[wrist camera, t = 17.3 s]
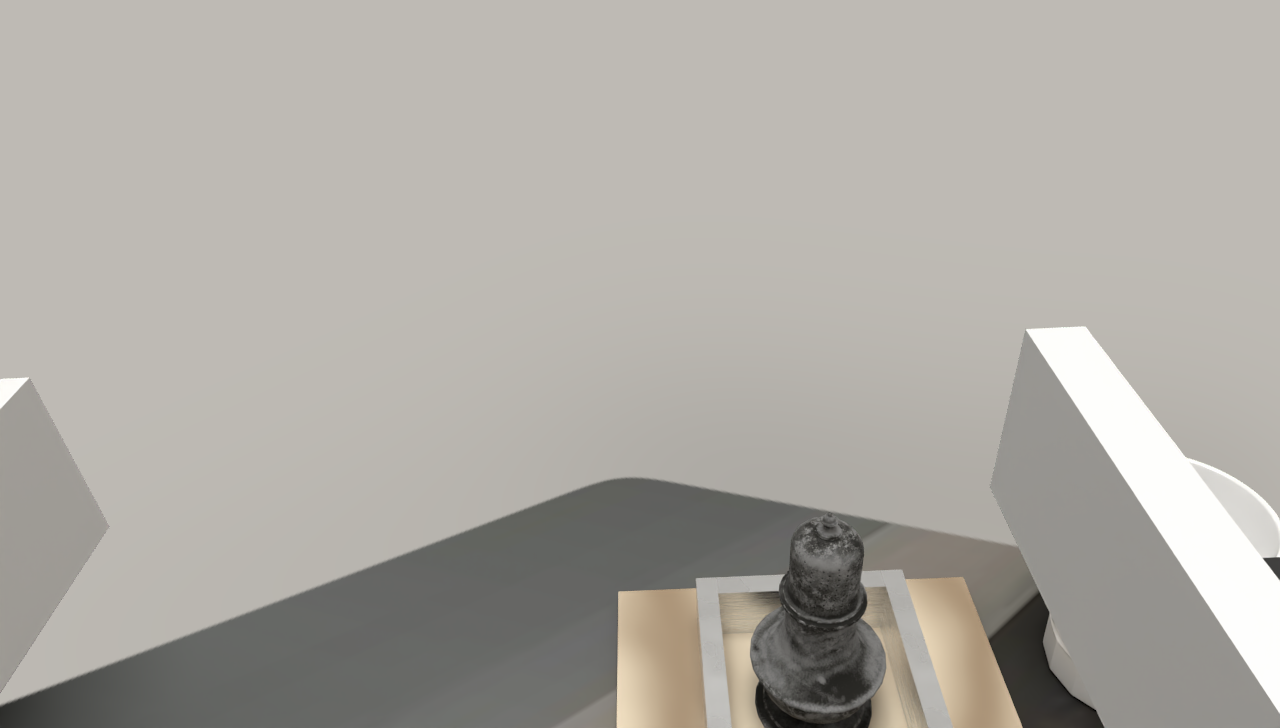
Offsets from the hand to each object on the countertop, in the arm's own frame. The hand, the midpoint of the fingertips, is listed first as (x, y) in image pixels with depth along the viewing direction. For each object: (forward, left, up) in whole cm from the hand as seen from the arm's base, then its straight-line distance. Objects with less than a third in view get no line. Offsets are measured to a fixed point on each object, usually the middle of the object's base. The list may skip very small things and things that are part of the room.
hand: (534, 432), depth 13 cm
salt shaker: (+8, +16, -29) cm, 34 cm away
